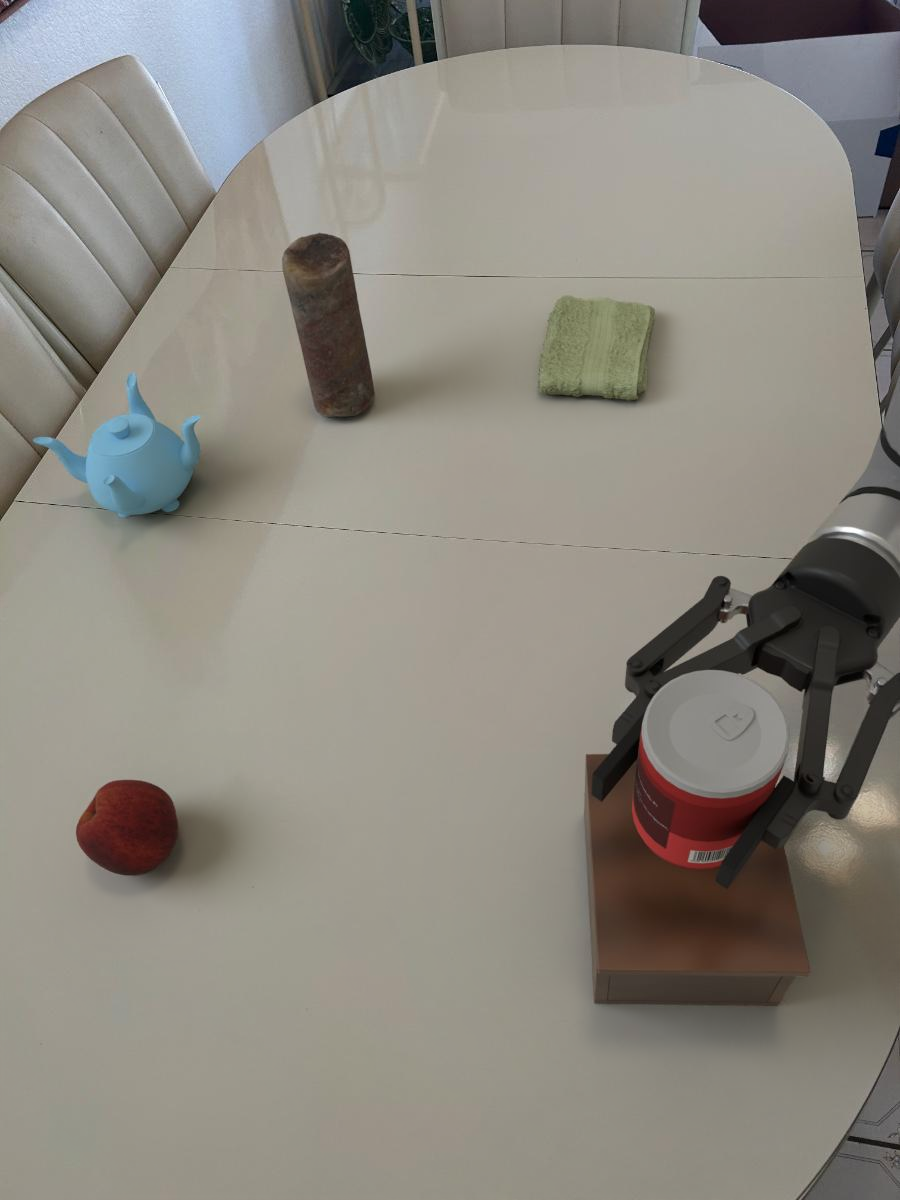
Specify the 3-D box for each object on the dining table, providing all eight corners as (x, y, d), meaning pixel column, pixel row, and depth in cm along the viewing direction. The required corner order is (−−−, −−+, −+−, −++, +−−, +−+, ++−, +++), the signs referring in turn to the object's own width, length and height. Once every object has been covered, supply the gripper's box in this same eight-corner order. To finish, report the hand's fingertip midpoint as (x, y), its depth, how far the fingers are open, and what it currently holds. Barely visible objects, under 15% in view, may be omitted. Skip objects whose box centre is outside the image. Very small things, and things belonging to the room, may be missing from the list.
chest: (778, 1006, 66) (802, 966, 59) (594, 1003, 67) (597, 965, 60) (745, 811, 75) (763, 757, 68) (584, 812, 76) (585, 759, 69)
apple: (135, 793, 81) (99, 747, 75) (210, 821, 79) (179, 777, 73) (84, 870, 77) (42, 829, 71) (162, 902, 75) (125, 863, 69)
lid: (808, 977, 57) (810, 972, 57) (598, 974, 59) (598, 970, 58) (763, 757, 68) (765, 751, 67) (585, 759, 69) (585, 753, 68)
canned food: (781, 807, 59) (819, 718, 50) (709, 901, 56) (735, 822, 47) (680, 738, 63) (698, 644, 54) (606, 822, 59) (613, 736, 51)
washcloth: (656, 314, 116) (658, 291, 113) (644, 407, 106) (646, 384, 103) (551, 310, 119) (551, 287, 116) (529, 400, 108) (528, 378, 106)
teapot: (230, 484, 105) (203, 415, 97) (135, 555, 99) (98, 488, 91) (161, 438, 111) (130, 369, 103) (69, 503, 105) (28, 435, 97)
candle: (384, 385, 113) (355, 232, 97) (371, 426, 108) (338, 272, 93) (324, 383, 114) (285, 231, 98) (308, 423, 110) (265, 271, 94)
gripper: (990, 688, 60) (814, 971, 51) (710, 545, 70) (518, 761, 60) (1036, 618, 54) (847, 923, 45) (723, 473, 64) (513, 699, 54)
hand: (658, 830), depth 52 cm, fingers closed on canned food, 8 cm apart
